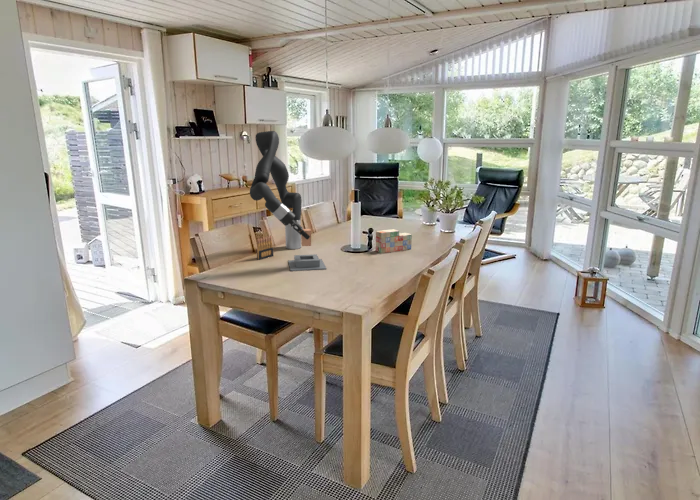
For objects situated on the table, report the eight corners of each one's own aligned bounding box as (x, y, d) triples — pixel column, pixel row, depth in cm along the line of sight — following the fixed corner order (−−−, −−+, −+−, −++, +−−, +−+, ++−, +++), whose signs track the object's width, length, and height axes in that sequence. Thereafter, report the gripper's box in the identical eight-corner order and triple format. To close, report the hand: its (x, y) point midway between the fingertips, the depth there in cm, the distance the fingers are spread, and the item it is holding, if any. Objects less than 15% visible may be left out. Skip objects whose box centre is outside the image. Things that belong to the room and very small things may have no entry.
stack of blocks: (405, 247, 271) (406, 227, 268) (411, 249, 266) (412, 229, 263) (375, 251, 261) (375, 230, 258) (380, 253, 256) (381, 232, 253)
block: (301, 244, 229) (301, 229, 227) (310, 243, 230) (310, 228, 228) (302, 246, 225) (302, 230, 223) (311, 245, 226) (311, 230, 224)
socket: (288, 261, 237) (288, 254, 236) (321, 260, 240) (321, 252, 239) (290, 271, 220) (290, 263, 219) (326, 269, 223) (326, 261, 222)
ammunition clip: (259, 260, 240) (258, 238, 237) (256, 259, 241) (255, 238, 238) (273, 256, 248) (272, 235, 245) (271, 255, 249) (270, 234, 246)
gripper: (289, 211, 215) (314, 234, 220) (288, 206, 228) (311, 229, 233) (279, 222, 215) (304, 245, 220) (278, 217, 228) (301, 239, 234)
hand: (308, 237), depth 227 cm, fingers closed on block, 4 cm apart
